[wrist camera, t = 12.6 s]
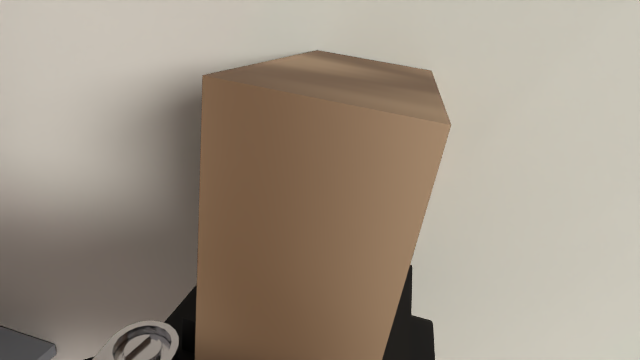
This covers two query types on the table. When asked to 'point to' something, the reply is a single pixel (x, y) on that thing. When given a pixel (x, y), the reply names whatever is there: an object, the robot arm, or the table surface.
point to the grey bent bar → (23, 347)
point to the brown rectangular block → (311, 204)
